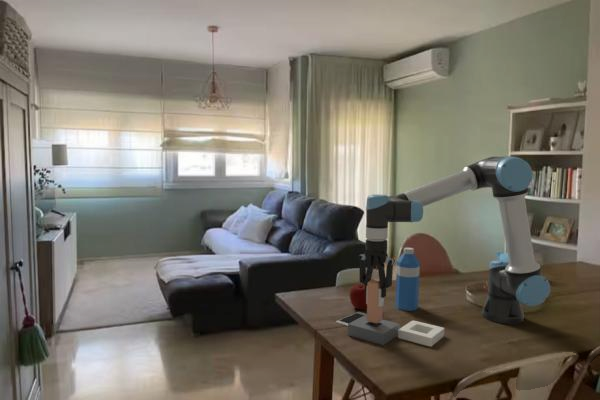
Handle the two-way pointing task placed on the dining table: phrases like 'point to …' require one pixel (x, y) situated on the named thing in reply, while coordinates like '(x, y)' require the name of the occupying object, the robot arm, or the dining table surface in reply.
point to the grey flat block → (373, 330)
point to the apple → (358, 297)
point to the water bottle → (407, 281)
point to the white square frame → (421, 333)
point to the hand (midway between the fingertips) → (374, 304)
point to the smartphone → (350, 318)
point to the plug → (373, 302)
